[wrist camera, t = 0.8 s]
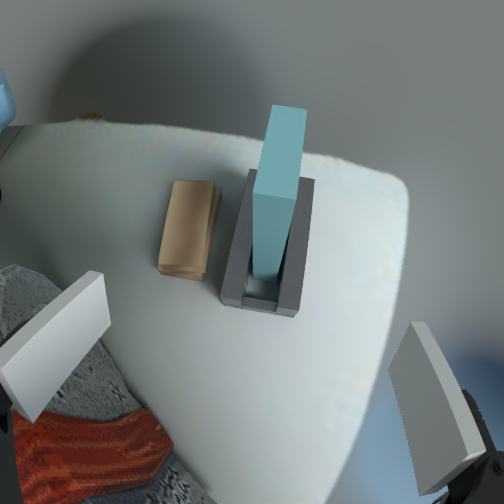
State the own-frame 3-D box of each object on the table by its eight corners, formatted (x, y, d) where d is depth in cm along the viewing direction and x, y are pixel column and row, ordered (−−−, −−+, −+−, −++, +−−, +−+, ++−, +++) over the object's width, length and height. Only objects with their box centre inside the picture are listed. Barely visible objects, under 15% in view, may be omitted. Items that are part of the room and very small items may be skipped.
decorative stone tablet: (193, 613, 5) (-15, 219, 16) (117, 620, 3) (-53, 264, 14) (234, 505, 22) (92, 297, 33) (188, 527, 21) (59, 324, 32)
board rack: (223, 305, 31) (219, 296, 28) (250, 187, 37) (249, 168, 33) (293, 317, 31) (298, 310, 27) (309, 197, 36) (314, 179, 33)
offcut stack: (162, 275, 33) (150, 262, 29) (184, 193, 37) (176, 173, 33) (207, 282, 33) (201, 270, 28) (225, 197, 37) (222, 177, 33)
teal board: (252, 278, 32) (252, 192, 17) (265, 215, 35) (272, 104, 20) (275, 282, 32) (296, 199, 16) (285, 218, 35) (306, 109, 19)
